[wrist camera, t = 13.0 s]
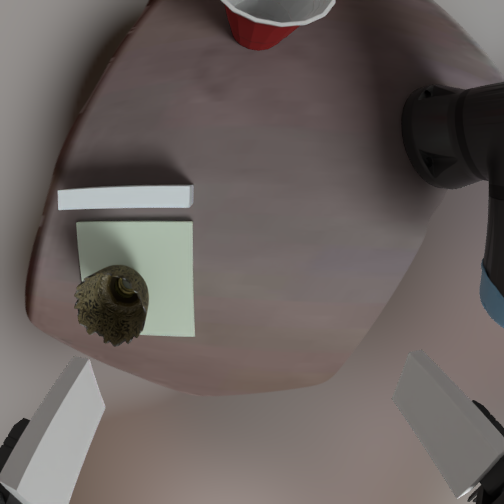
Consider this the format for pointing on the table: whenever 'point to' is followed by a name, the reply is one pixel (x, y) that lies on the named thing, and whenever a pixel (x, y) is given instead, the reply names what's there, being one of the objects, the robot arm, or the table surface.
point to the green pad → (147, 266)
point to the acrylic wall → (126, 197)
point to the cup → (113, 304)
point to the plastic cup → (271, 19)
